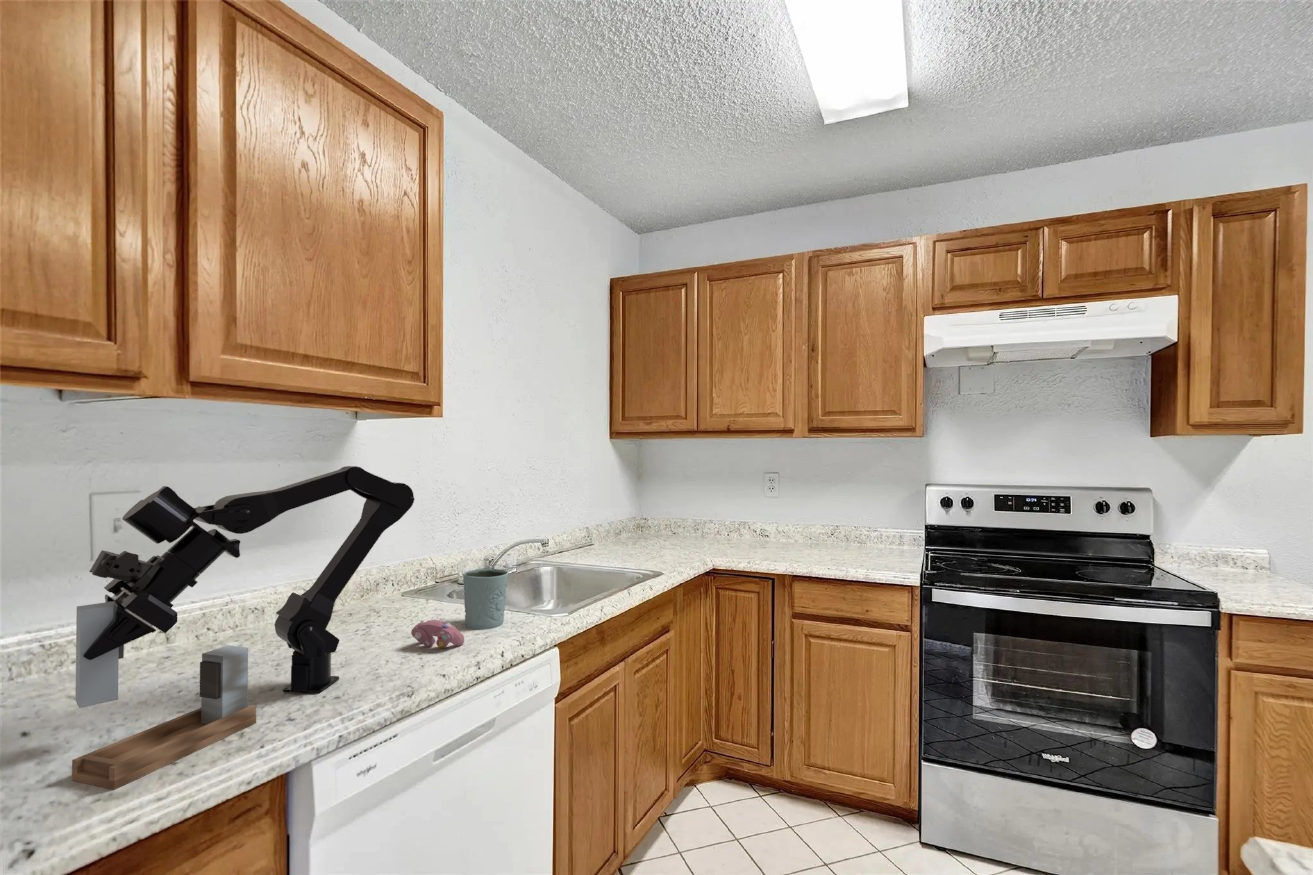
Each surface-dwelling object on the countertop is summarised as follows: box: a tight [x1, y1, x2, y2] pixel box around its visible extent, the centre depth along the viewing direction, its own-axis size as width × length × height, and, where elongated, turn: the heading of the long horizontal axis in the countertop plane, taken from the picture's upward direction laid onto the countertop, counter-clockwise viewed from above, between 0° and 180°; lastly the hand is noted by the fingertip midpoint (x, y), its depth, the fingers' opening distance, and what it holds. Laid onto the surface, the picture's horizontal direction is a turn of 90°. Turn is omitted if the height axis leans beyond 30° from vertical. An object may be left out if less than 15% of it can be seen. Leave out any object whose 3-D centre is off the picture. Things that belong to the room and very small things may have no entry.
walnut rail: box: [71, 645, 257, 791], centre depth 85 cm, size 19×7×11 cm, turn 164°
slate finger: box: [75, 601, 125, 709], centre depth 87 cm, size 5×4×13 cm
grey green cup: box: [462, 568, 509, 630], centre depth 146 cm, size 10×10×12 cm
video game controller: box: [410, 619, 465, 649], centre depth 129 cm, size 10×5×7 cm, turn 77°
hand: (84, 654), depth 86 cm, fingers closed on slate finger, 4 cm apart
